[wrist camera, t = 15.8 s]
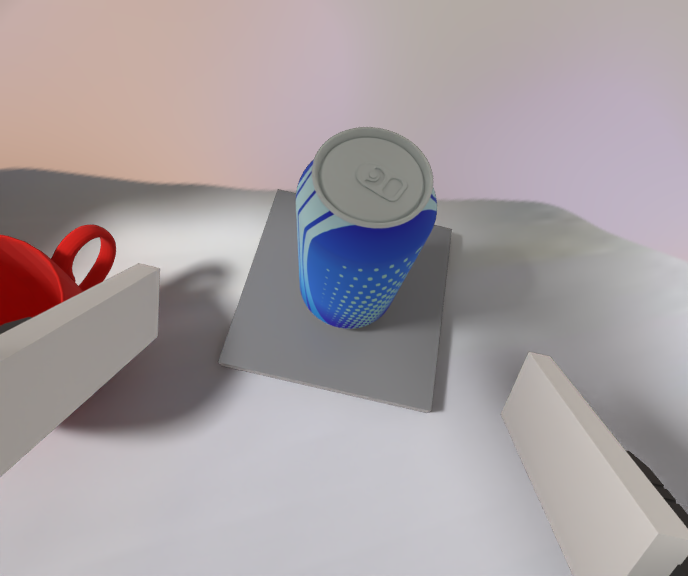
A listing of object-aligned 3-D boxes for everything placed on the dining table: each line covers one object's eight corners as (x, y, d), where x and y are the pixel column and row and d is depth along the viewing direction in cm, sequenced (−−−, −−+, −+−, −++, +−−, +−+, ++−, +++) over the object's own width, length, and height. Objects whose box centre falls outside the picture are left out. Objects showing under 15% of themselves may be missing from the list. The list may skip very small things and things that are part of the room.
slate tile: (221, 365, 33) (217, 362, 32) (278, 198, 40) (277, 189, 39) (426, 412, 33) (431, 411, 32) (446, 236, 40) (451, 228, 39)
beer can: (313, 344, 33) (318, 257, 18) (290, 259, 36) (278, 126, 21) (404, 319, 35) (475, 222, 20) (374, 240, 38) (417, 104, 23)
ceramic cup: (197, 310, 35) (157, 260, 26) (36, 483, 29) (-92, 498, 19) (94, 234, 37) (23, 162, 28) (-77, 380, 31) (-241, 350, 22)
